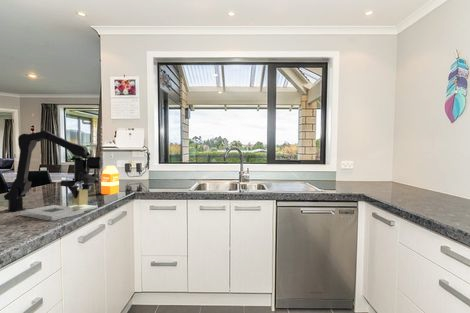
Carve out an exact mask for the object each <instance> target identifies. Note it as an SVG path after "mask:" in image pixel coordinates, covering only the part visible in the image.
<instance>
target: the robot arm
mask: <svg viewBox="0 0 470 313" xmlns="http://www.w3.org/2000/svg"><path fill="white" fill-rule="evenodd" d="M44 140H47V141H48V142H50V143H53V144H55V145H57V146H60V147H62V148H64V149H65V150H67V151H68V152H69V153H71V154H72V155H73V156H72V157H71V158H69V161H74V167H73V168H74V169H73V170H72V173H73V174H74V175H73V177H74V178H72V179H65V180H63V179H62V180H61V181H60V183H59V185H60V187H67V188H68V189H69V191H70V192H71V194H72V197H73V196H74V198H75V199H76V198H77V189H79V184H81V187H82V188H81V189H88V191H89V190H90V188H91V187H92V186H93V185H94V184H98V183H99V179H98V174H97V173H90V174H89V170H102V167H103V160H102V157H101V156H92V155H91V154H90V152H89V149H88V147H87V146H85V145H81V144H78V143H74V142H71V141H68V140H67V139H64V138H63V137H60V136H59V135H56V134H55V133H52V132H50V131H49V130H41V131H39V132H37V131H36V132H33V133H22V134H20V135H18V138H17V141H18V142H17V145H18V148H19V150H20V151H19V157H18V164H17V169H16V177H15V178H14V181H12V183H11V186H10V187H9V188H10V189H9V191H8V192H7V193H5V194H4V195H3V197H4V200H5V201H7V207H8V208H7V209H4V211H5V212H11V213H14V212H18V211H24V210H27V208H25V207H24V197H26V195H27V194H28V193H29V192H30V190H32V183H33V182H32V181H29V179H28V178H29V172H30V165H31V160H32V153H33V151H34V149H35V148H36V146H37V143H38V142H41V141H44ZM87 169H89V170H87Z"/></svg>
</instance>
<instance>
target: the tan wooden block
mask: <svg viewBox="0 0 470 313" xmlns="http://www.w3.org/2000/svg"><path fill="white" fill-rule="evenodd" d="M88 198H89V190H88V189H82V188H77V198H76V199H75V198H74V196H73V195H72V206H73V205H89V203H88V202H89V201H88V200H89V199H88Z"/></svg>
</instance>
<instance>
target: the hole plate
mask: <svg viewBox="0 0 470 313" xmlns="http://www.w3.org/2000/svg"><path fill="white" fill-rule="evenodd" d="M84 213H85V212H84V209H79V208H72V207H68V206H65V205H58V204H52V205H46V206H40V207H36V208H35V207H34V208H29V209H25V210H20V216H23V217H29V218H34V219H40V220H45V221H51V222H52V221H57V220H60V219H65V218H69V217H73V216H76V215H81V214H84Z"/></svg>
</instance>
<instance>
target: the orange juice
mask: <svg viewBox="0 0 470 313" xmlns="http://www.w3.org/2000/svg"><path fill="white" fill-rule="evenodd" d="M119 180H120V172H119V171H118V169H117V168H116V166H115V165H107V166H105V168H104V169H103V170H102V173H101V182H100V183H101V186H100V187H101V190H100V191H101V195H115V194H119V193H120V191H119V190H120V186H119V185H120V181H119Z"/></svg>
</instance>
